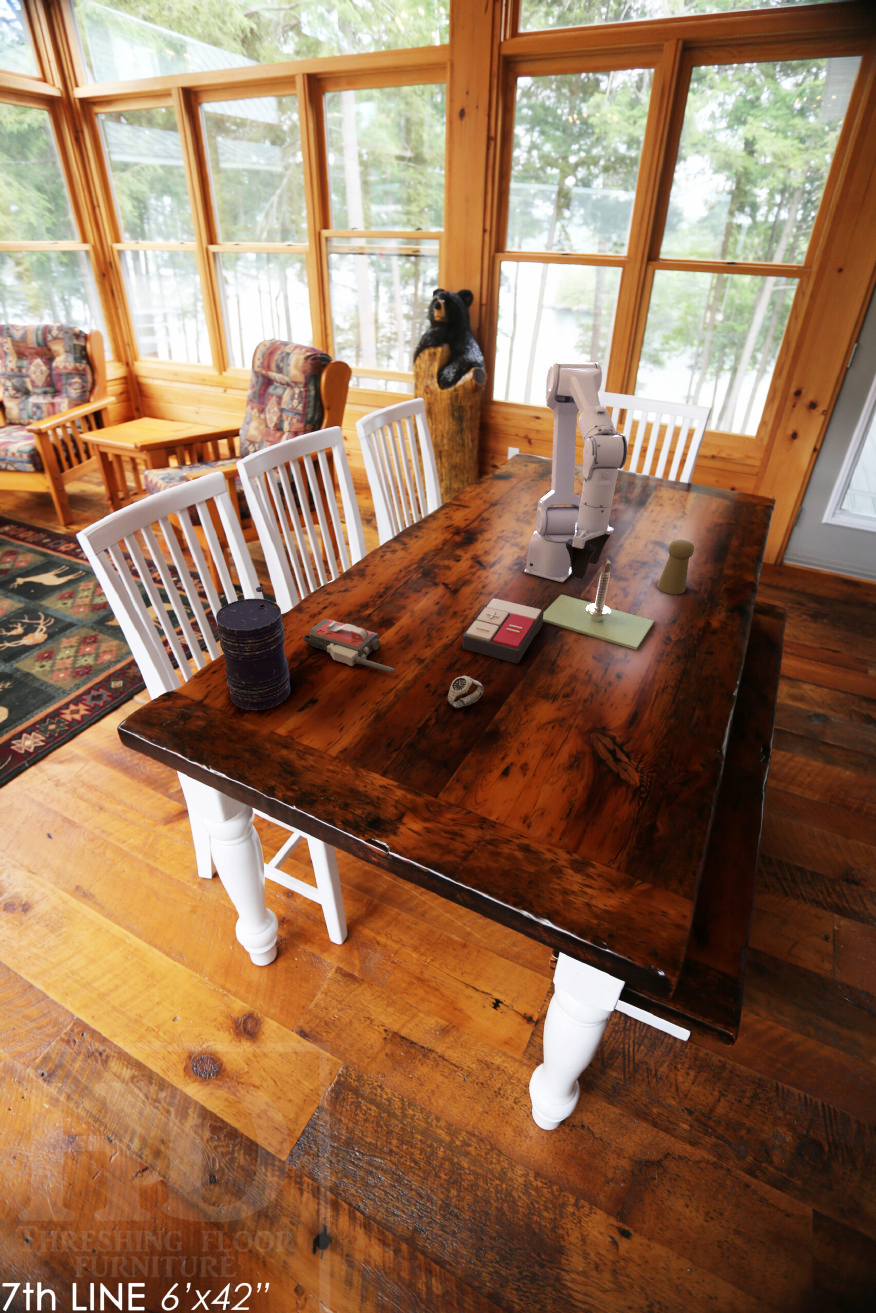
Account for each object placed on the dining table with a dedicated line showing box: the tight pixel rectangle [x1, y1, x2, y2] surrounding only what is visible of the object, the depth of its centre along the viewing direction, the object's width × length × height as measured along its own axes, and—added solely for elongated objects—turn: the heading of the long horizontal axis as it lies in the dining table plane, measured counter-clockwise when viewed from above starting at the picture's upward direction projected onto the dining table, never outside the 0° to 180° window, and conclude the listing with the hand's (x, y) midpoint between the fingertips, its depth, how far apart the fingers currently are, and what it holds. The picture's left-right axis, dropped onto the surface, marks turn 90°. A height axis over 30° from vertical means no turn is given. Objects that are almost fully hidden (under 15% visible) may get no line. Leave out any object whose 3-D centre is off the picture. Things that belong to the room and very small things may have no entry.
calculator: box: [462, 598, 545, 664], centre depth 122 cm, size 11×4×15 cm
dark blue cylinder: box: [215, 586, 291, 711], centre depth 102 cm, size 10×10×18 cm
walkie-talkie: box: [302, 618, 396, 674], centre depth 116 cm, size 9×4×20 cm
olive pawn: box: [656, 538, 695, 595], centre depth 140 cm, size 6×6×11 cm
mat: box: [542, 594, 655, 651], centre depth 129 cm, size 20×12×1 cm, turn 59°
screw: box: [586, 559, 612, 622], centre depth 126 cm, size 13×5×5 cm
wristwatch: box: [447, 675, 485, 709], centre depth 104 cm, size 4×6×5 cm, turn 119°
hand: (584, 569), depth 125 cm, fingers open, 7 cm apart
